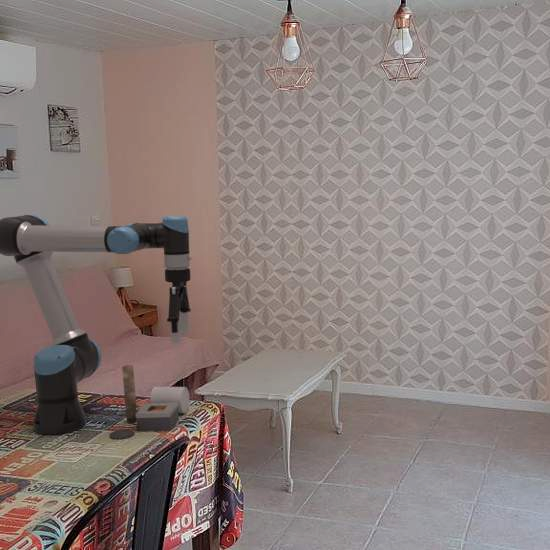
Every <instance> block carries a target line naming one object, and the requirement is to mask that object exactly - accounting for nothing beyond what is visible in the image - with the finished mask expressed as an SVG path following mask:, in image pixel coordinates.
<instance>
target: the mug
mask: <svg viewBox="0 0 550 550" xmlns="http://www.w3.org/2000/svg"><path fill="white" fill-rule="evenodd" d="M189 393H190V392H189V390H188V387H186V386H154V387H153V388H152V390H151V393H150V398H149V399H150V400H149V403H178V414H186V413H187V412H188V411H189V410H188V409H189V405H190V394H189Z"/></svg>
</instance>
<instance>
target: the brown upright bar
mask: <svg viewBox="0 0 550 550" xmlns="http://www.w3.org/2000/svg"><path fill="white" fill-rule="evenodd" d="M121 370H122V379H123V393H124V405H125V416H126V423H127V424H136V413H137V412H138V410H137V409H138V408H137V400H136V399H137V398H136V385H135V371H134V365H133V364H126V365H123V366H121Z"/></svg>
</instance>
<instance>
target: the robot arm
mask: <svg viewBox="0 0 550 550" xmlns="http://www.w3.org/2000/svg"><path fill="white" fill-rule="evenodd" d="M188 220H189V219H188V218H187V216H184V215H170V216H169V215H167V216H164V217H163V218H162V221H161V222H158V223H155V222H146V223H145V222H143V223H140V222H133V223H127V224H126V225H51V224H49V223H48V221H46V219H44V218H43V217H40V216H38V215H35V214H34V215H33V214H24V215H19V216H8V217H3V218H1V219H0V255H3V256H6V257H13V258H14V260H15V263H16V265H18V266H20V267H22V268H23V269H24V272H25V273H26V276H27V278H28V281H29V283H30V286H31V289H32V292H33V293H34V297H35V298H36V302H37V303H38V306H39V308H40V310H41V314H42V316H43V319H44V320H45V323H46V326H47V328H48V331H49V333H50V335H51V337H52V338H51V339H52V341H51V342H50V346H49V347H45V348H42V349H40V350H39V351H37V352H36V353H35V354H34V357H33V371H34V373H33V374H34V381H35V391H36V399H37V405H36V411H35V415H34V418H33V422H32V424H33V425H32V427H33V431H34V433H36V434H39V435H50V436H51V435H60V434H67V433H71V432H74V431H75V432H76V431H78V430H81V429H82V428H83V427H85V426H86V425H87V416H86V413H85V411H84V409H83V406H82V403H81V401H80V399H79V394H78V392H79V391H78V383H80V382H82V381H83V380H85V379H87V378H90V377H91V376H92V375H93V374H94V373H96V371H97V370H98V369H99V368H100V366H101V363H102V352H101V349H100V346H99V345H98V344H97V343H96V342H95V341H93V340H92V339H89V338H90V337H89V335H88V333H87V331H85V330H83V329H81V328H80V327H79V325H78V322H77V320H76V317H75V315H74V311H73V309H72V308H71V304H70V302H69V300H68V297H67V295H66V292H65V290H64V287H63V285H62V282H61V280H60V278H59V274H58V271H57V270H56V267H55V264H54V262H53V260H52V255H53V253H57V252H58V253H59V252H62V253H112V254H113V253H114V254H117V255H129V254H131V253H133V252H137V251H142V250H144V249H145V250H146V249H163V260H164V261H163V264H164V268H166V269H165V270H164V280H165V282H167V283H171V285H172V286H170V287H169V300H168V301H169V303H168V317H167V319H166V320H167V321H166V322H168V323H169V326H170V327H169V328H170V330H169V331H170V344H181V342H182V341H181V339H182V338H181V334H190V324H189V323H190V322H189V313H191V311H192V309H191V308H190V301H189V296H188V285H187V282H190V280H191V269H190V268H189V267H190V266H191V265H190V264H191V263H190V262H191V260H193V259H192V257H191V256H190V229H189V222H188Z"/></svg>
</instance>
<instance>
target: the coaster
mask: <svg viewBox="0 0 550 550" xmlns="http://www.w3.org/2000/svg"><path fill="white" fill-rule="evenodd" d="M134 436H135V431H134V430H133V429H127V428H126V429H118V430H114V431H112V432H110V433H109V439H111V440H115V439H116V440H119V439H120V440H127V439H130V438H132V437H134ZM126 438H127V439H126ZM120 440H119V441H120Z"/></svg>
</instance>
